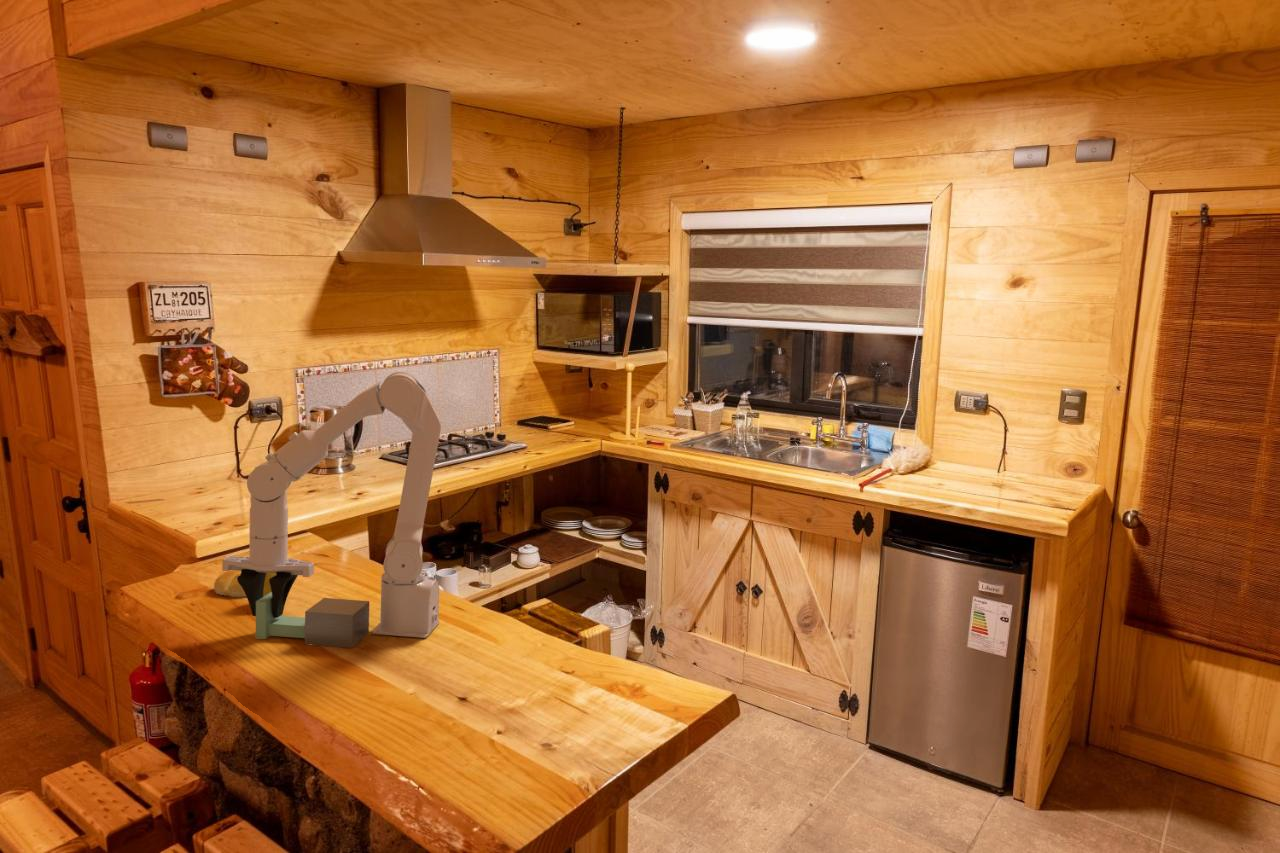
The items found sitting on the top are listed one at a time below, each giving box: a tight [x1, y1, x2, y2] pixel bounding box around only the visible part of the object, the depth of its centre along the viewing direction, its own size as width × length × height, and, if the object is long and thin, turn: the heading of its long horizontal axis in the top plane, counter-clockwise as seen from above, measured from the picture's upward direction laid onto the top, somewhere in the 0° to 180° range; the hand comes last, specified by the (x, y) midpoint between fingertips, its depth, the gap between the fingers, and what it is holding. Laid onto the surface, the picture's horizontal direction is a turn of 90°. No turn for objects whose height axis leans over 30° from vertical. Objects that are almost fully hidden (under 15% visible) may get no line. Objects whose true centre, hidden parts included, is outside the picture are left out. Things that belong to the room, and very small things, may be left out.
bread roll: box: [213, 570, 247, 598], centre depth 155 cm, size 8×9×4 cm
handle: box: [255, 592, 305, 640], centre depth 134 cm, size 14×6×6 cm, turn 87°
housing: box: [304, 597, 370, 649], centre depth 134 cm, size 8×7×6 cm
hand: (267, 615), depth 135 cm, fingers open, 3 cm apart
